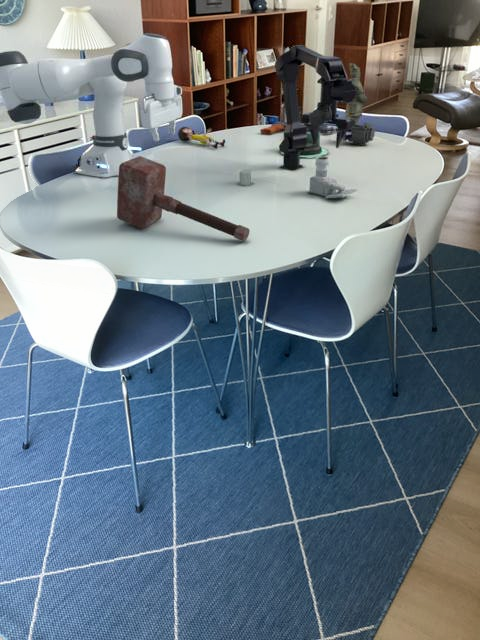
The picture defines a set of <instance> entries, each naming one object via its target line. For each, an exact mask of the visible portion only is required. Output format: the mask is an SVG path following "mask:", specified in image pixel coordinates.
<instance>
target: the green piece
mask: <svg viewBox="0 0 480 640" xmlns="http://www.w3.org/2000/svg"><path fill="white" fill-rule="evenodd" d="M306 129H307V137H308V138H307V143H306V146H305V150H304V151H300V158H307V159H309V158H310V159H311V158H313V159H314V158H316V157H319V156H326V155H327V154H328V150H326V149H325V148H322V146H321V144H320V142H321V132H318V140H317V144H314V143H313V139H312V136H311V133H310V130H309V128H306ZM280 154H282V155H284V153H283V152H280Z"/></svg>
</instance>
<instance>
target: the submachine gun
mask: <svg viewBox="0 0 480 640" xmlns="http://www.w3.org/2000/svg"><path fill="white" fill-rule="evenodd" d="M300 123H301V122H300ZM304 124H305V123H301V125H302V126H303V127H306V128H308V127H307V126H305V125H304ZM286 126H287V121H274V122H273V123H272V124H271V125H270V126H268V127H265V128H261V129H260V133H261V134H263V135H271V134H274V133H276V132H277V133H278V132H281V131H283V132H284V131H285V129H286ZM328 127H329V126H328V125H327V124H323V125H320V126H319V132H320V133H322V135H323V136H329V135H331V134H333V133H334V132H335V128H334V126H331V127H329V128H328Z"/></svg>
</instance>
